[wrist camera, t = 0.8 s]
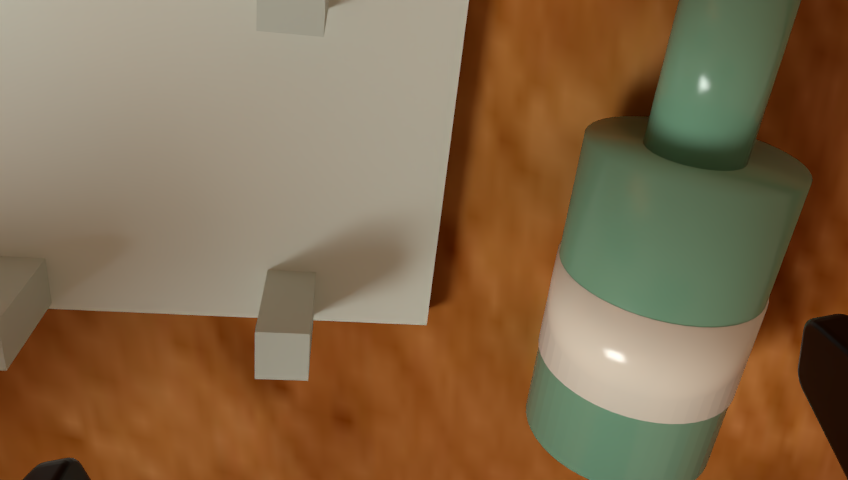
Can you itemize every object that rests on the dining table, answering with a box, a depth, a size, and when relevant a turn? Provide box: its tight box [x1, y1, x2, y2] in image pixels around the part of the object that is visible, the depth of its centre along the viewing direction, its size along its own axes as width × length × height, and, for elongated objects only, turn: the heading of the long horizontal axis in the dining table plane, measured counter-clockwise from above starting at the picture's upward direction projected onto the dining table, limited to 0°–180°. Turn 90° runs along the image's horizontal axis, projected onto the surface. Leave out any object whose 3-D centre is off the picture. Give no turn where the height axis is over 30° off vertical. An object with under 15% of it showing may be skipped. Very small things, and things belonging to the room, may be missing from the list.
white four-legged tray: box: [0, 0, 469, 381], centre depth 19 cm, size 16×11×4 cm
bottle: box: [526, 0, 812, 480], centre depth 20 cm, size 14×6×6 cm, turn 174°
